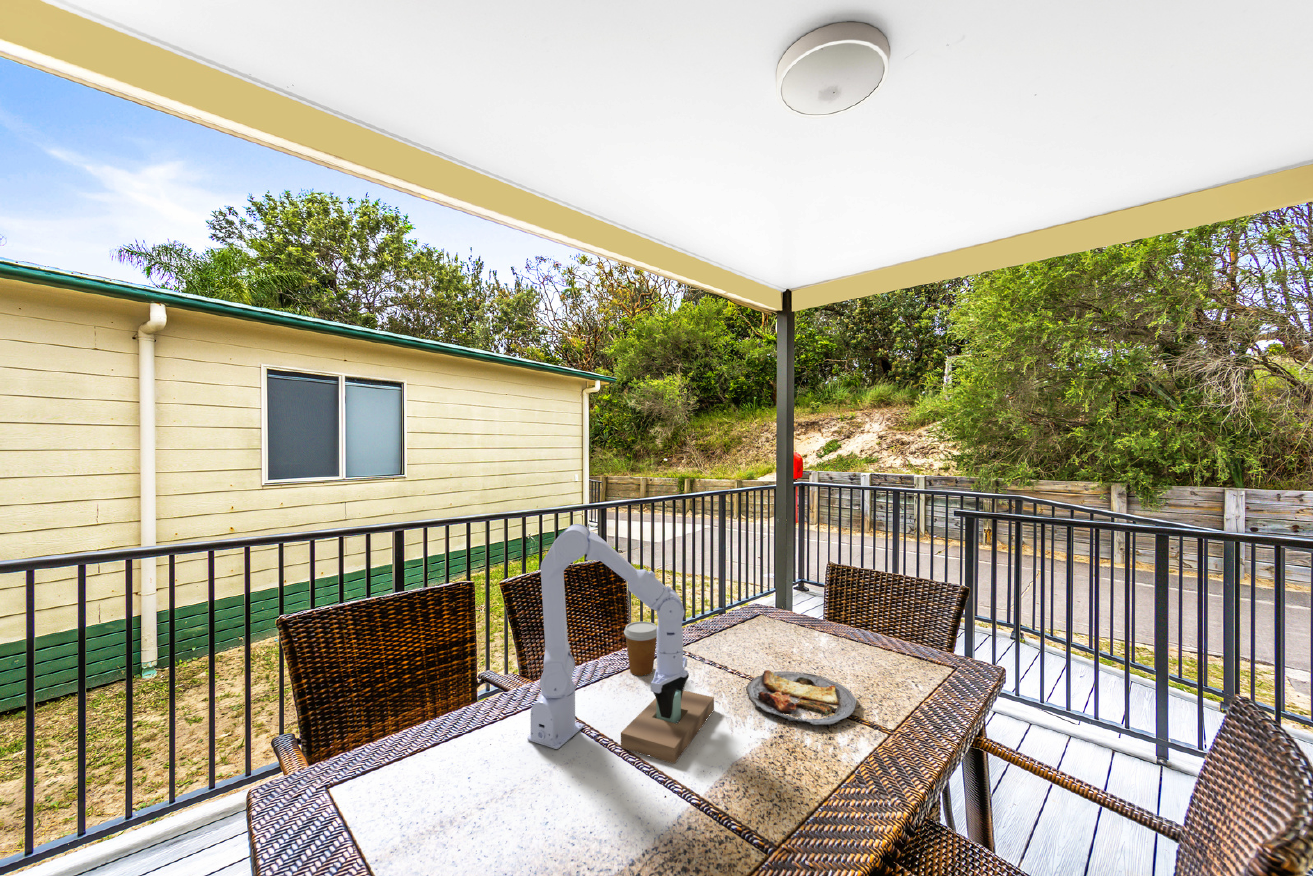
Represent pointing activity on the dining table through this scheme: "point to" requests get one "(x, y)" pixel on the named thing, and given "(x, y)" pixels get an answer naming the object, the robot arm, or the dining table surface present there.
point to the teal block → (675, 709)
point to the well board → (667, 728)
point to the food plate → (800, 696)
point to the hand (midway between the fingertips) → (670, 712)
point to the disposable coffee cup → (641, 646)
